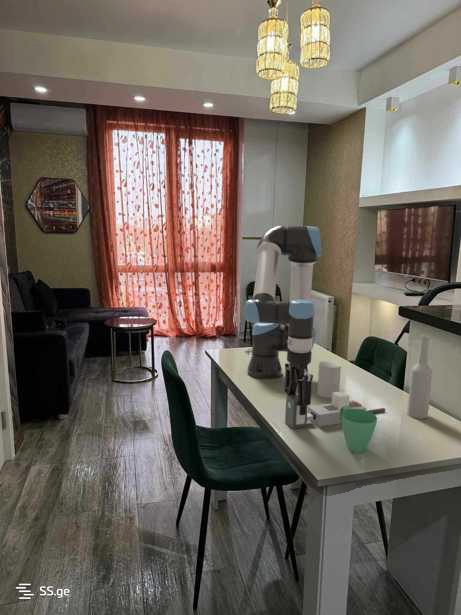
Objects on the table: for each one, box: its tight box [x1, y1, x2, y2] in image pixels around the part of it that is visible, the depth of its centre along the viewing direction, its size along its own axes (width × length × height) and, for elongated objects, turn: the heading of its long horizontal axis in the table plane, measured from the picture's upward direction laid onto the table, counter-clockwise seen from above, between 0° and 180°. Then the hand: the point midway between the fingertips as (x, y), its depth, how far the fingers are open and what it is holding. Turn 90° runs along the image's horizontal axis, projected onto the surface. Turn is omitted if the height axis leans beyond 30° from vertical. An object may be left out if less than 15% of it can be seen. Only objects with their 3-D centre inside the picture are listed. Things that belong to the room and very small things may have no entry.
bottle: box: [406, 334, 433, 420], centre depth 144 cm, size 7×7×28 cm
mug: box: [341, 406, 378, 454], centre depth 124 cm, size 15×10×10 cm
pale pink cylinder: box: [316, 360, 342, 399], centre depth 163 cm, size 8×8×12 cm
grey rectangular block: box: [284, 394, 313, 429], centre depth 136 cm, size 5×8×9 cm, turn 111°
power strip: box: [307, 400, 386, 427], centre depth 143 cm, size 7×29×5 cm, turn 111°
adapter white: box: [331, 390, 350, 410], centre depth 141 cm, size 4×4×4 cm
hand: (295, 419), depth 136 cm, fingers closed on grey rectangular block, 5 cm apart
